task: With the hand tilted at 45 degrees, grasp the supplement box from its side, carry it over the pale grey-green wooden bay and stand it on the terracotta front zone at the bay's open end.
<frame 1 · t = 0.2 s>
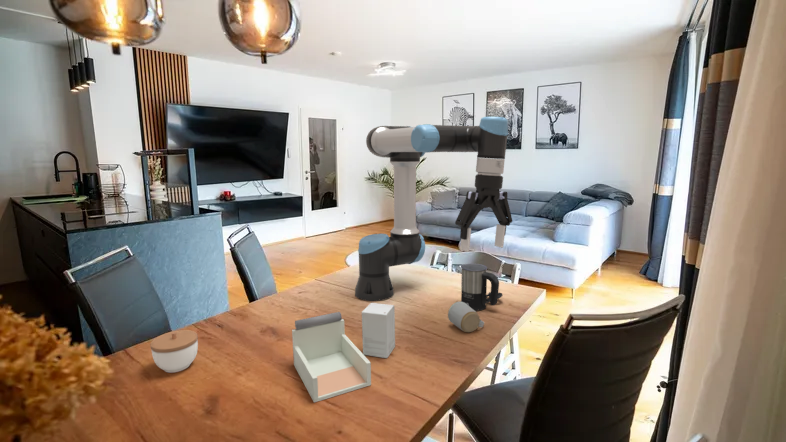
hand: (482, 248, 112), 27 cm above the table, tool pointing down, fingers open, 13 cm apart
lidded jar: (177, 367, 102), on the table
ceramic mug: (467, 328, 124), on the table
milk frother: (481, 304, 143), on the table
supplement box: (379, 351, 110), on the table
bay: (330, 374, 98), on the table
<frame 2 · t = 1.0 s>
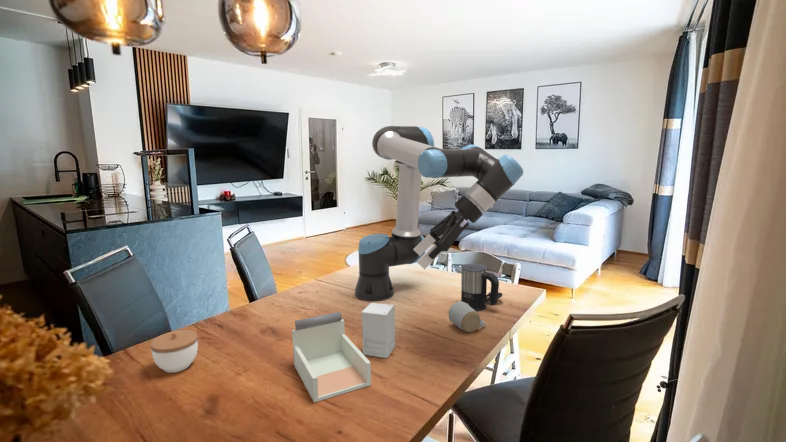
hand: (418, 258, 108), 26 cm above the table, tool tilted 45°, fingers open, 13 cm apart
nothing on the table moved.
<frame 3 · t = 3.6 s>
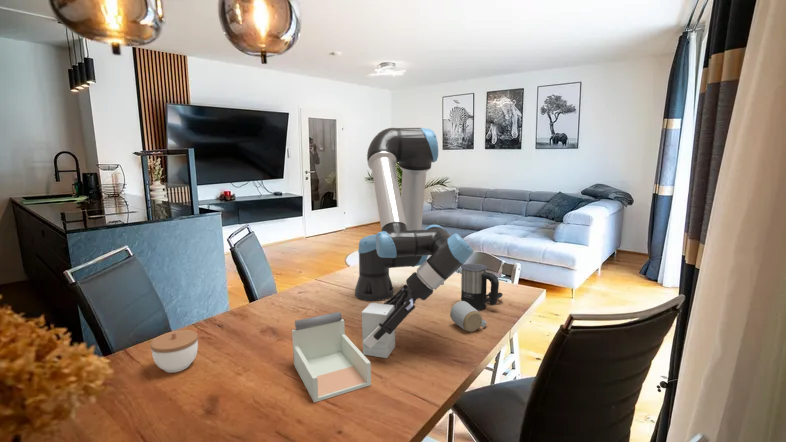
hand: (367, 336, 109), 4 cm above the table, tool tilted 45°, fingers closed on supplement box, 9 cm apart
supplement box: (379, 351, 110), on the table, touching gripper
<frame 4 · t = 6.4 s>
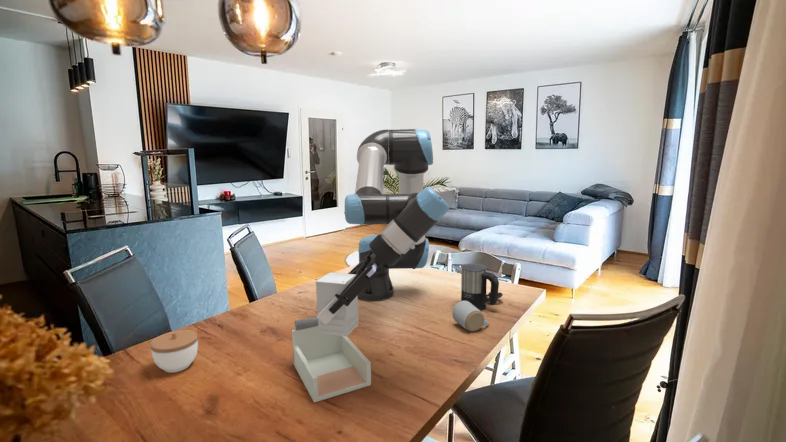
hand: (324, 311, 91), 18 cm above the table, tool tilted 45°, fingers closed on supplement box, 9 cm apart
supplement box: (339, 329, 92), point 14 cm above the table, touching gripper
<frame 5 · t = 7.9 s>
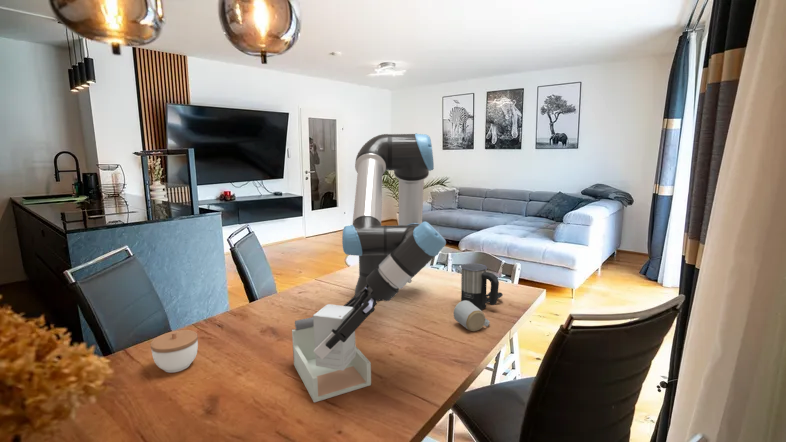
hand: (321, 344, 92), 10 cm above the table, tool tilted 45°, fingers closed on supplement box, 9 cm apart
supplement box: (336, 361, 93), point 6 cm above the table, touching gripper
when the fingers open (6 cm above the table, at t = 9.2 s): supplement box stays where it is, resting on bay.
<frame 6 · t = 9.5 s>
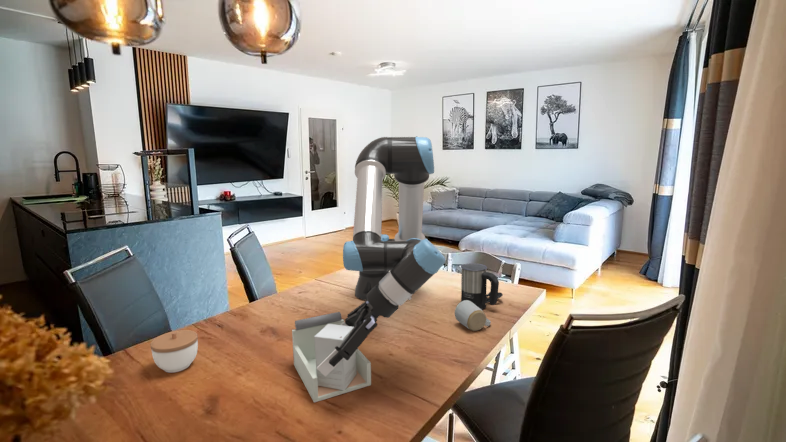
hand: (325, 356, 93), 7 cm above the table, tool tilted 45°, fingers open, 13 cm apart
supplement box: (337, 380, 94), point 1 cm above the table, touching bay
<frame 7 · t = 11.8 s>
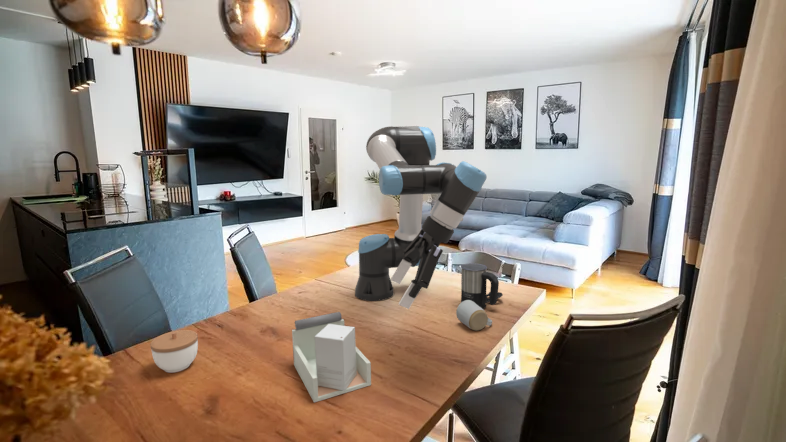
hand: (399, 293, 100), 19 cm above the table, tool tilted 30°, fingers open, 13 cm apart
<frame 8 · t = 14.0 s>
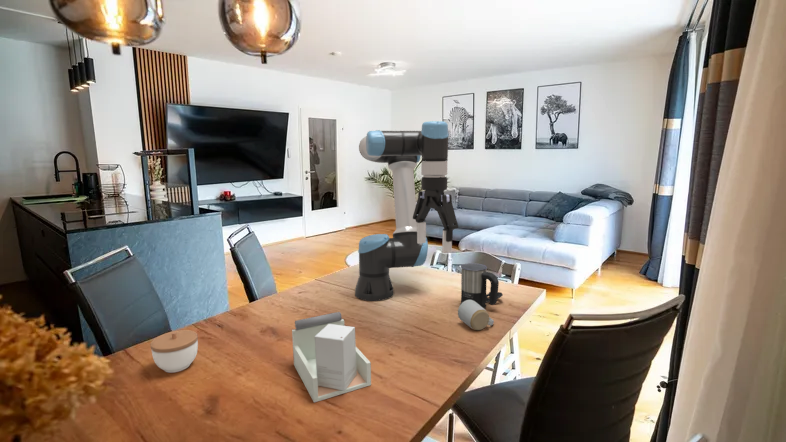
hand: (433, 247, 117), 27 cm above the table, tool pointing down, fingers open, 13 cm apart
at the end: supplement box inside the target area on the bay (0.1 cm from its centre), point 0.7 cm above the bay's base; supplement box tilted 0°; the gripper is holding nothing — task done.
